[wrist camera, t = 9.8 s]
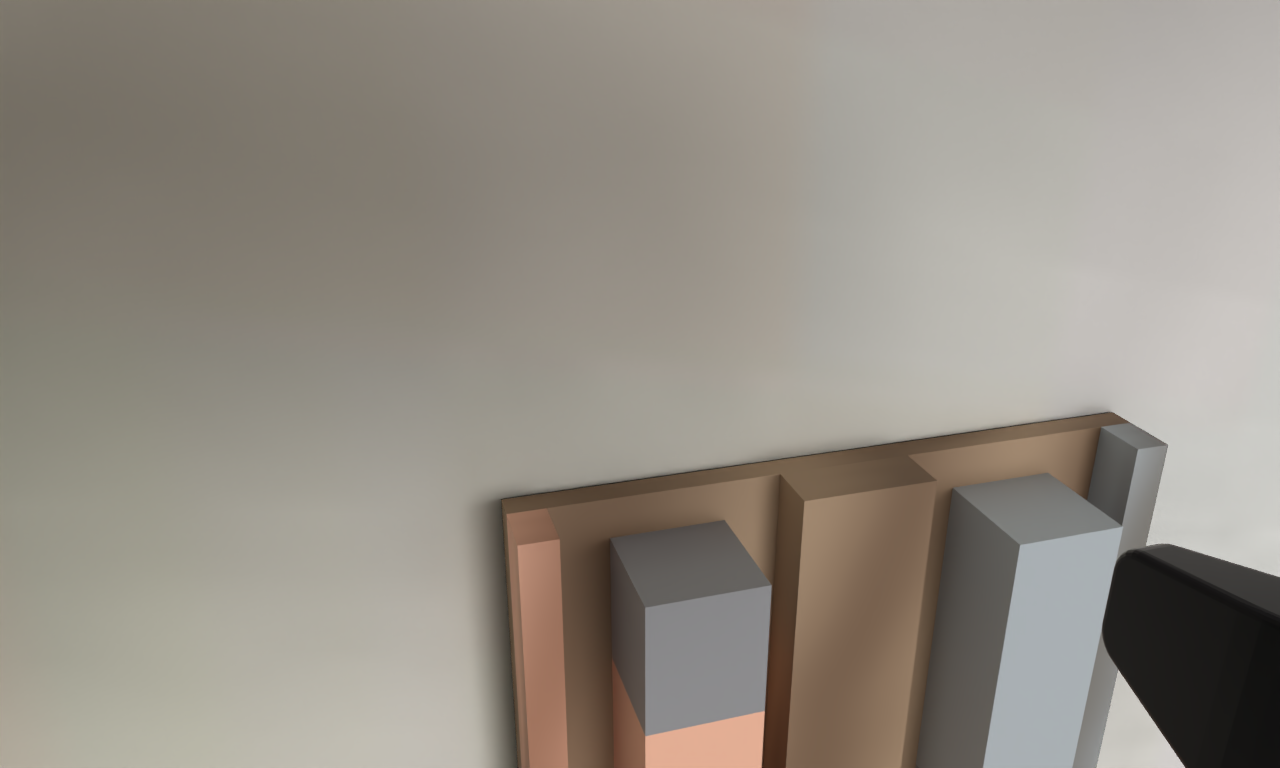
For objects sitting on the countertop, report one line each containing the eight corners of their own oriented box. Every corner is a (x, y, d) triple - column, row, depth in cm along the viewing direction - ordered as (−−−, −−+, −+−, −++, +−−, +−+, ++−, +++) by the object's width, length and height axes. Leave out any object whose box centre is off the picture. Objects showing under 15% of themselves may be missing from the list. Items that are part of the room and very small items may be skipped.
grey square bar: (952, 487, 23) (1020, 545, 21) (1048, 472, 24) (1123, 526, 22) (904, 850, 28) (955, 929, 25) (985, 829, 28) (1043, 904, 26)
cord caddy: (1112, 412, 25) (1168, 444, 23) (1031, 824, 30) (1072, 873, 28) (501, 499, 21) (517, 545, 19) (529, 953, 26) (543, 1020, 24)
